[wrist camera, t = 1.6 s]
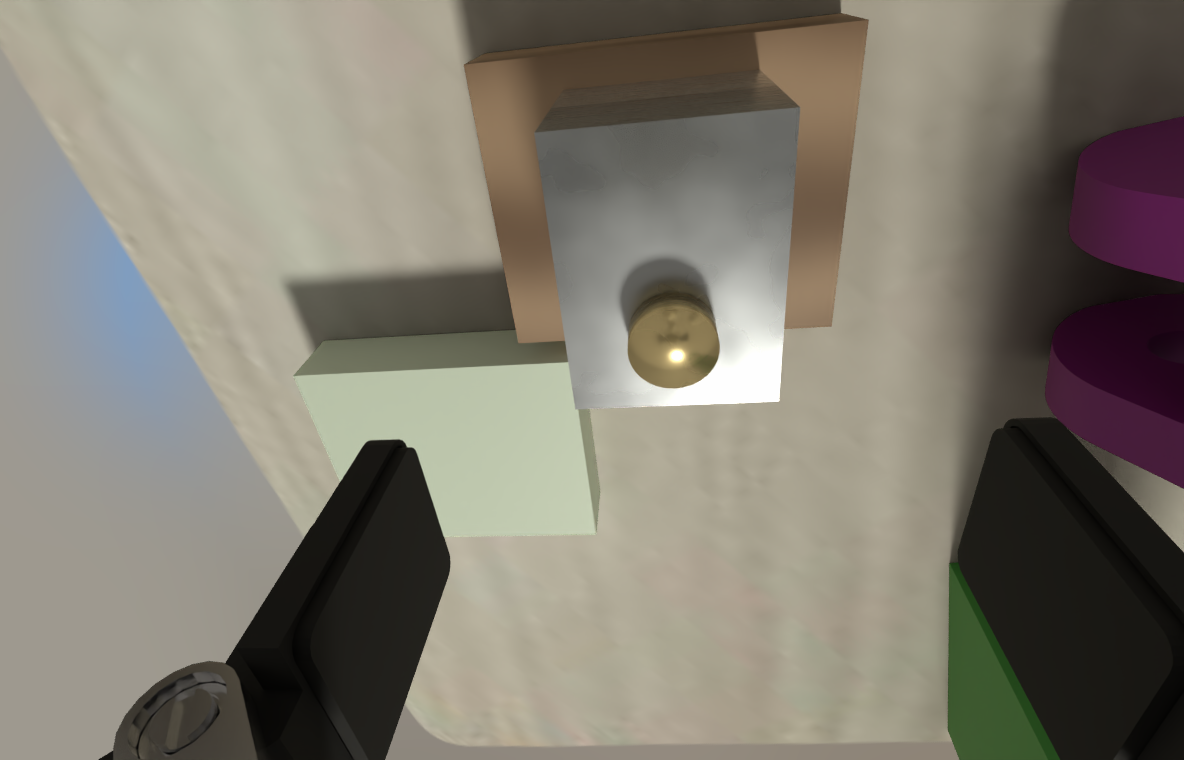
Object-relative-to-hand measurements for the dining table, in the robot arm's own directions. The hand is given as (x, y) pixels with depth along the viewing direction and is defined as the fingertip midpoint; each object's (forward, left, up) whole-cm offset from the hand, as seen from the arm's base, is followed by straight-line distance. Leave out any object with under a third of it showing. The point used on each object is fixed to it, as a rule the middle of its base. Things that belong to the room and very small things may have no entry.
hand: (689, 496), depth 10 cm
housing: (-1, 0, -13) cm, 13 cm away
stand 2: (-1, 0, -16) cm, 16 cm away
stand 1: (+10, -10, -16) cm, 22 cm away
